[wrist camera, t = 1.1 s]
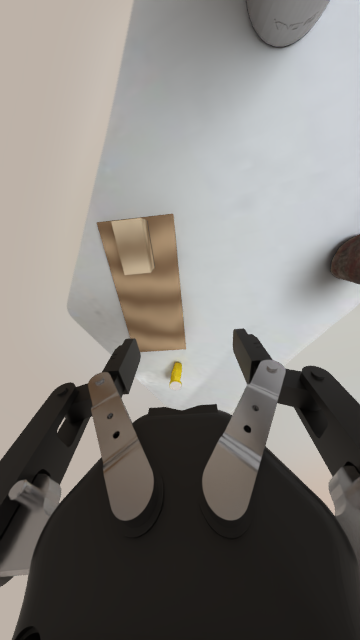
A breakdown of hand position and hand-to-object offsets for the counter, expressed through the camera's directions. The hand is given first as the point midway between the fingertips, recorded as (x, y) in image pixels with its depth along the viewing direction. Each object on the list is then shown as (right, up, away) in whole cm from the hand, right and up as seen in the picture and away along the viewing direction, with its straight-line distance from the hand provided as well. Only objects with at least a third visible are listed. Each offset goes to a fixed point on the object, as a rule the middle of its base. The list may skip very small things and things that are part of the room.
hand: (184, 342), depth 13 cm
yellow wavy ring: (-1, -10, +28) cm, 30 cm away
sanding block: (-7, +14, +13) cm, 21 cm away
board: (-6, +7, +19) cm, 21 cm away
